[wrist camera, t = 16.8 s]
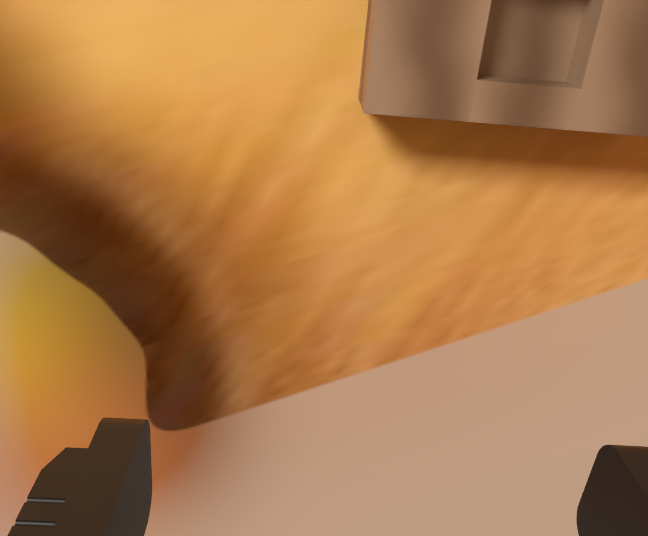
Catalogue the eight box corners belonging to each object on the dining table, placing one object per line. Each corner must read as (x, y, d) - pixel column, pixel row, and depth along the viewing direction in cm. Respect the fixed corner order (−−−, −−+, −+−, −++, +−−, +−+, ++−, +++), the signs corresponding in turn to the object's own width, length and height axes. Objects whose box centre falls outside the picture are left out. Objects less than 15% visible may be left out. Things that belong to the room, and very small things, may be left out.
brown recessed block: (358, 97, 37) (363, 113, 33) (378, -95, 33) (387, -104, 29) (634, 120, 38) (672, 138, 34) (689, -64, 34) (740, -68, 30)
